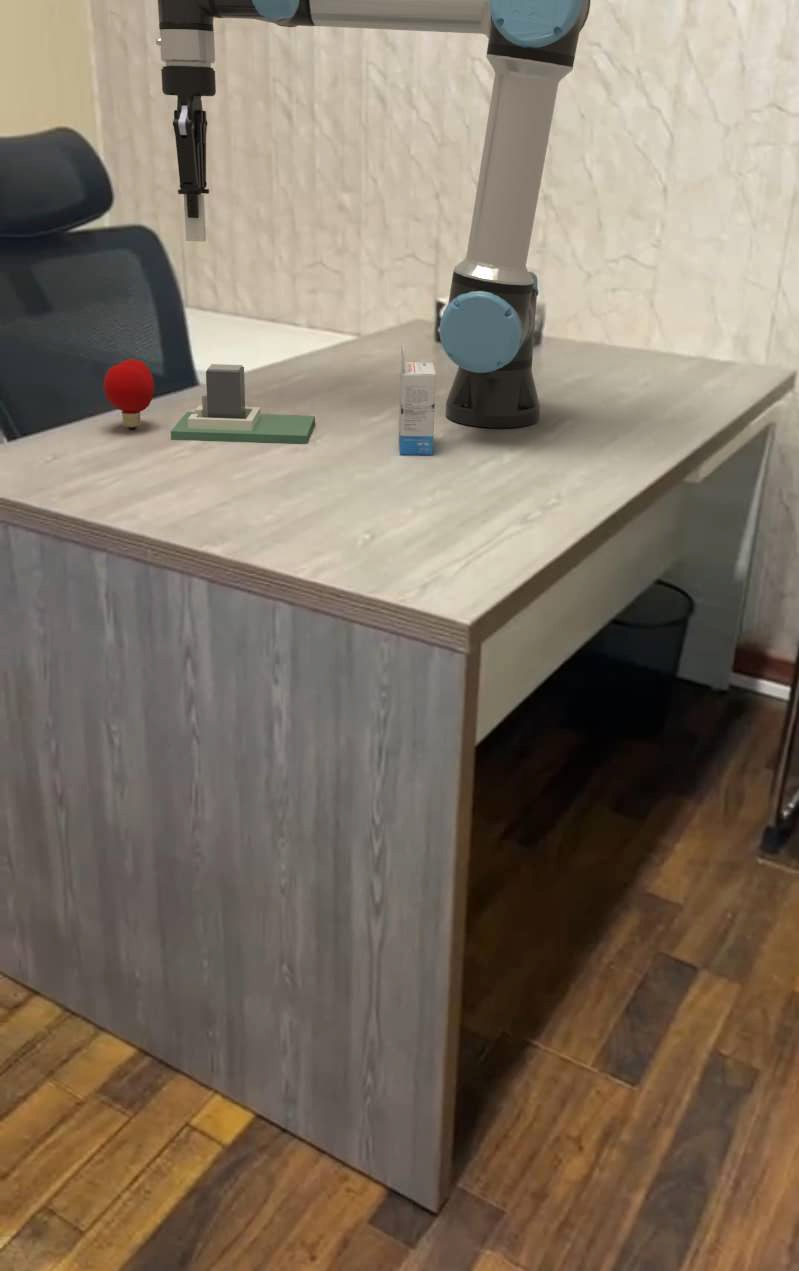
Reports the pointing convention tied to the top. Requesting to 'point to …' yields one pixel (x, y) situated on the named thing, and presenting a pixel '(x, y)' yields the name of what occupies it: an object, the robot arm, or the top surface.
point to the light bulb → (129, 390)
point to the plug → (224, 392)
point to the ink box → (416, 407)
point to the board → (245, 427)
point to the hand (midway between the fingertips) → (195, 240)
